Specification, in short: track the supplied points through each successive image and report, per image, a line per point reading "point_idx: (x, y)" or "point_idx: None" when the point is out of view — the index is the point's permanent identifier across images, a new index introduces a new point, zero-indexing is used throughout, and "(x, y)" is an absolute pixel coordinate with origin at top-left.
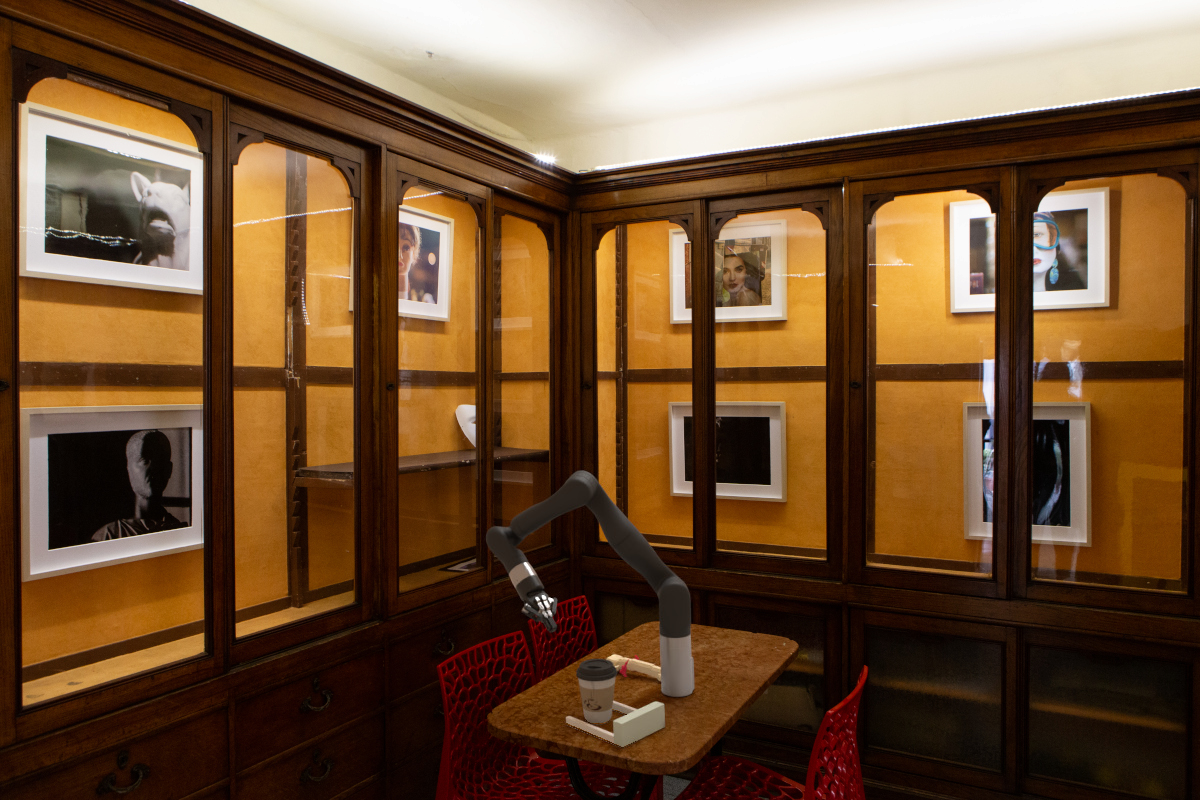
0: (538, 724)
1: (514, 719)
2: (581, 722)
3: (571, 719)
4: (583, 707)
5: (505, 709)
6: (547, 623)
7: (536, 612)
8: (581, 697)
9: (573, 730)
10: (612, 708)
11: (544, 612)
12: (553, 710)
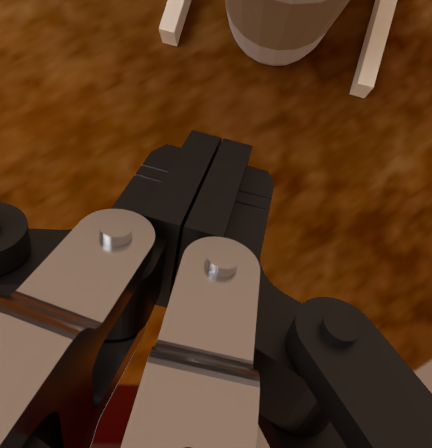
0: (406, 187)
1: (410, 292)
2: (387, 14)
3: (380, 59)
4: (328, 29)
5: None
6: (266, 216)
7: (410, 440)
8: (329, 21)
9: (391, 53)
10: (185, 13)
11: (195, 328)
12: (280, 203)
